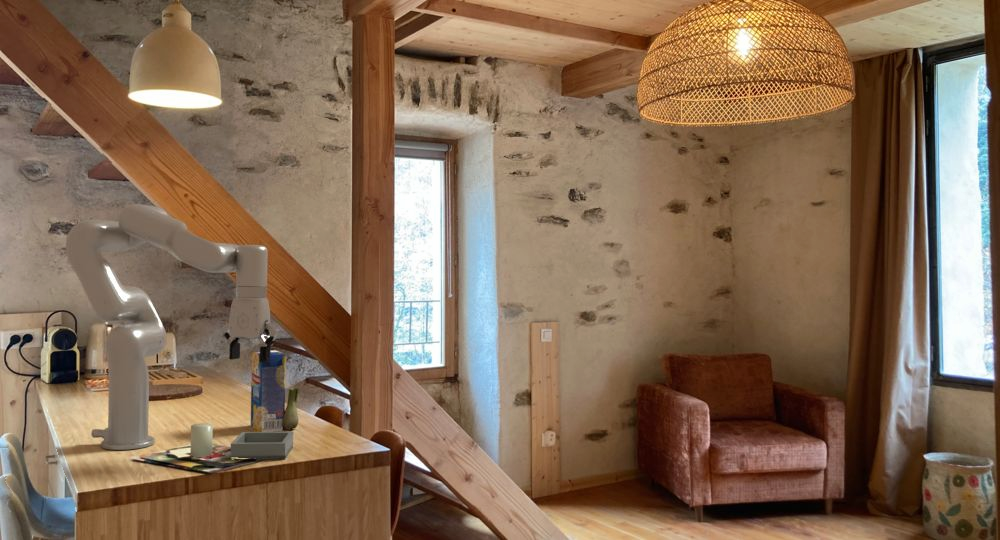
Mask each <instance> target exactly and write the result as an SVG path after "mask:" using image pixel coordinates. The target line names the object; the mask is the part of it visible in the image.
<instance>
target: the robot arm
mask: <svg viewBox="0 0 1000 540" xmlns="http://www.w3.org/2000/svg"><path fill="white" fill-rule="evenodd" d="M117 217H118V218H117V221H116V220H106V219H94V218H93V219H91V218H90V219H85V220H82V221H79V222H77V223H75V224H74V226H72V227H71V228H70V230H69V232H68V235H67V237H66V239H65V240H66V241H65V253H66V257H67V260H68V262H69V265H70V266H71V268H72V269H73V271H74V273H75V274H76V276H77V278H78V280H79V282H80V283H81V286H82V288H83V291H84V293H85V295H86V297H87V299H88V301H89V304H90V305H91V307H92V309H93V311H94V314H95V315H96V317H97V319H99V320H100V321H101V322H104V323H109V324H113V323H123V324H120V325H118V326H117V325H116V326H115V327H114V328H112V329H111V330H110V331H109V332H108V333H107V336H106V337H105V342H104V343H105V345H104V350H105V353H106V354H105V355H106V358H107V359H106V360H107V366H108V368H107V371H108V402H107V403H108V406H107V407H108V408H107V409H108V410H107V411H108V412H107V416H108V417H107V427H106V428H104V429H99V428H93V429H91V437H92V438H93V439H95V438H96V439H97V438H99V439H100V438H101V439H103V440H102V441H101V442H100V443H101V444H100V447H101V448H103V449H104V450H105V449H106V450H112V451H113V450H114V451H124V450H126V451H128V450H135V449H142V448H146V447H150V446H152V445H154V443H155V437H153V436H152V435H149V405H150V401H149V399H150V392H149V391H150V375H149V368H148V365H147V362H146V359H145V358H149V357H154V356H156V355H158V354H159V353H161V352H163V351H164V349H165V347H167V346H166V345H167V341H168V336H167V332H166V329H165V327H164V325H163V322H162V320H161V318H160V315H159V314H158V312H157V310H156V308H155V305H154V304H153V302H152V300H151V298H150V296H149V295H148V294H147V293H146V291H144V289H141V288H140V287H138V286H134V285H123V283H121V281H120V279H119V277H118V275H117V274H116V271H115V269H114V268H113V265H112V264H111V263H110V262H109V261H108V260H107V259H106V258H105V257H104V256H103V253H124V252H126V251H129V250H132V249H135V248H137V247H140V246H143V245H145V244H149V245H152V246H154V247H156V248H159V249H161V250H162V251H165V252H167V253H169V254H170V255H171V256H173V257H174V258H175V259H176V260H178V261H181V262H182V263H184V264H187V265H188V266H191V267H193V268H196V269H197V270H201V271H203V272H206V273H212V274H213V273H214V274H217V273H222V274H223V273H224V274H227V273H235V275H236V276H235V277H236V278H235V281H236V282H235V288H233V293H234V294H235V297H234V298H232V302H231V306H230V311H229V320H228V322H227V323H225V324H223V325H222V327H221V329H222V331H223V333H224V337H225V339H226V341H227V343H228V344H229V352H228V353H229V360H239V359H240V358H241V343H240V342H239V341H240V340H241V339H250V340H251V339H252V340H253V339H254V340H255V339H258V341H259V343H260V344H261V346H260V348H259V351H260V362H262V363H263V362H269V361H270V350H271V347H272V346H273V345H274V343H275V341H277V337H278V335H279V333H280V329H279V328H277V327H276V326H275V325H274V324H273V323H271V309H270V303H269V302H270V301H269V299H268V298H267V295H268V292H267V291H268V259H269V255H268V253H269V251H268V248H267V247H266V246H264V245H262V244H261V245H259V244H242V245H239V244H234V243H224V242H214V241H210V240H208V239H205V238H203V237H201V236H198V235H196V234H194V233H192V232H190V231H188V226H187V224H186V223H185V222H183V221H181V220H179V219H176V218H174V217H173V216H172V217H171V216H170V215H168V213H167V212H166V211H165V210H164V209H162V208H161V207H159V206H156V205H148V204H141V203H132V204H129V205H127V206H125V207H124V208H122V209H121V210H120V212H119V214H118V216H117Z"/></svg>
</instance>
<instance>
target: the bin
mask: <svg viewBox="0 0 1000 540" xmlns="http://www.w3.org/2000/svg"><path fill="white" fill-rule="evenodd" d="M293 447H294V431H276V432H258V431H241V433H240V434H239V435H238V436H236V437H235V439H234V440H232V442H230V458H231V457H238V458H256V459H260V460H259V461H264V460H265V461H267V460H268V461H271V460H272V461H273V460H275V461H276V460H278V461H280V460H286V459H287V457H288V456H289V454H290V452H291V451H292V449H293Z"/></svg>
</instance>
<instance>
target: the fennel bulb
mask: <svg viewBox="0 0 1000 540" xmlns="http://www.w3.org/2000/svg"><path fill="white" fill-rule="evenodd" d="M299 389H300V388H299V387H291V388H289V389H288V398H287V403H286V406H285V407H286V408H285V413H284V416H283V420H282V428H284V430H292V429H295V428H297V426H298V425H299V414H298V409H297V402H298V394H299Z"/></svg>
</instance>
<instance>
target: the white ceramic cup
mask: <svg viewBox="0 0 1000 540" xmlns="http://www.w3.org/2000/svg"><path fill="white" fill-rule="evenodd" d="M213 426H214V425H213V424H212V423H208V422H207V423H206V422H205V423H195V424H191V425H190V454H189V455H191V456H193V457H206V456H210V455H212V456H213V432H214V431H213V430H214V429H213Z"/></svg>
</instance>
